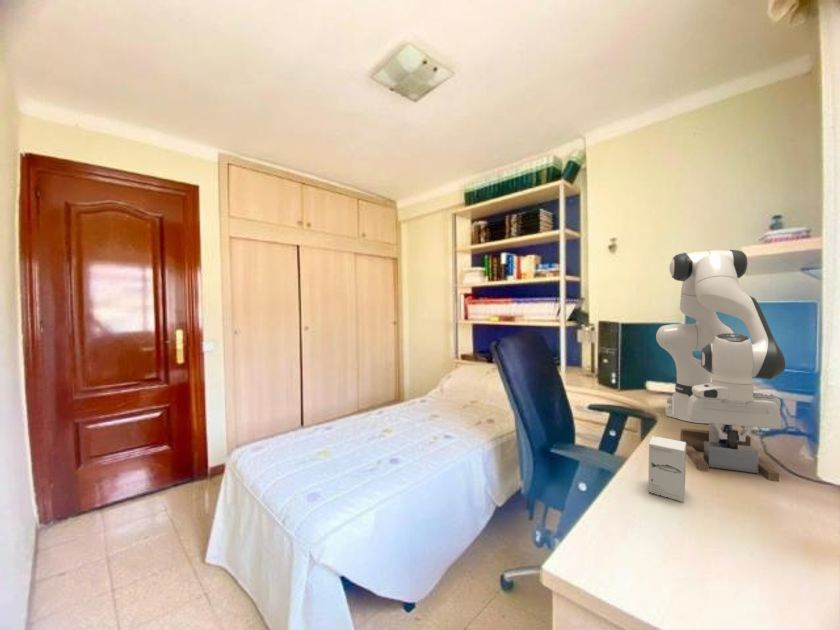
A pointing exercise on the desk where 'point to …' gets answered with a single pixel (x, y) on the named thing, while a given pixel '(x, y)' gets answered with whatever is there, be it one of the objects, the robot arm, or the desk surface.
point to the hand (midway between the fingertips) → (731, 439)
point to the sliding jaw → (731, 454)
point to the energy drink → (714, 433)
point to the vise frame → (696, 445)
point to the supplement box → (667, 467)
